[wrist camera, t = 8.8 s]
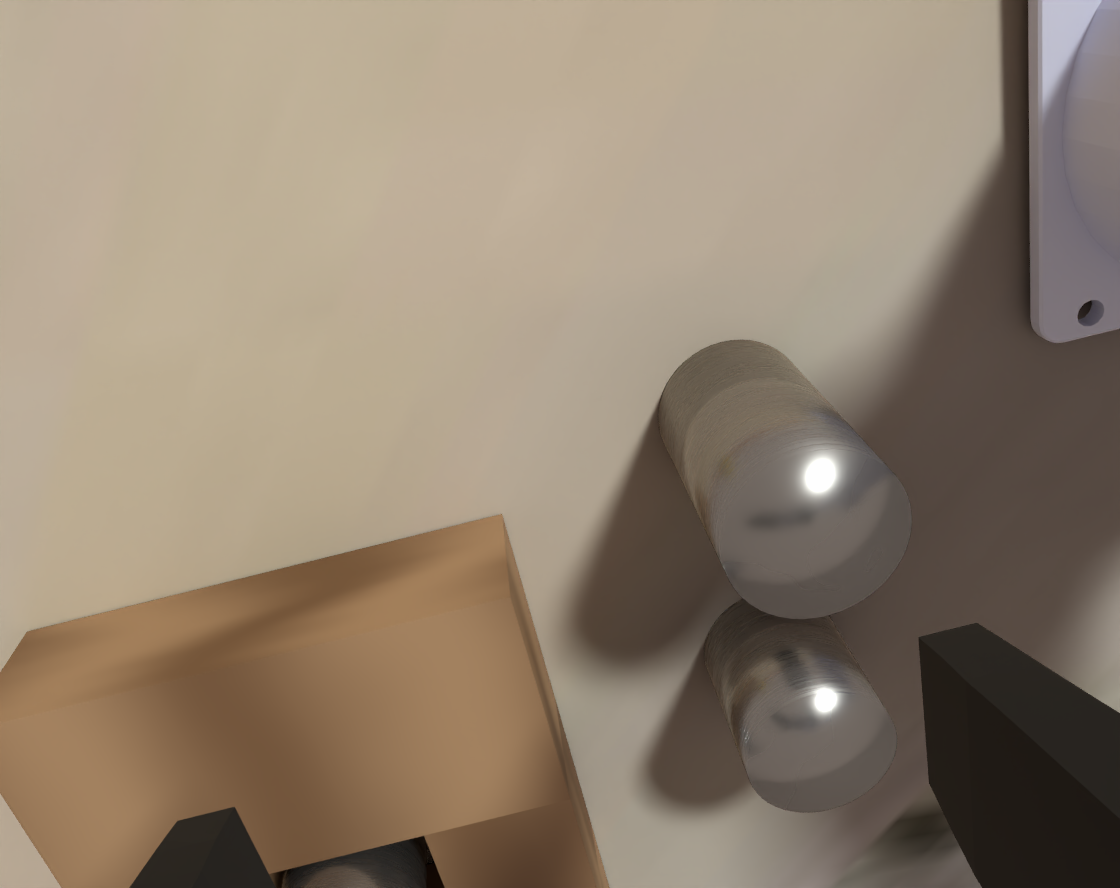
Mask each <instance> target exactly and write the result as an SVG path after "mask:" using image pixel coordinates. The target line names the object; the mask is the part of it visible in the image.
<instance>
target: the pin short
mask: <svg viewBox="0 0 1120 888" xmlns="http://www.w3.org/2000/svg"><path fill="white" fill-rule="evenodd" d="M704 659H705V664H706V668H707V670H708V673H709V676H710V678H711V681H712V683H713V686H714V689H715V691H716V694H717V697H718V699H719V702H720V704H721V707H722V710H723V712H724V715H725V717H726V720H727V723H728V725H729V728H730V731H731V733H732V736H733V738H734V741H735V744H736V746H737V749H738V752H739V754H740V757H741V759H742V762H743V765H744V767H745V770H746V772H747V775H748V778H749V780H750V782H751V785H752V787H753V788H754V790H755V791H756V792H757V793H758V794H759V795H760V796H761V797H762V798H763V799H764V800H765V801H767V802H768V803H770V804H772V805H774V806H776V807H778V808H781V809H784V810H788V811H794V812H819V811H825V810H830V809H833V808H836V807H840V806H842V805H845V804H847V803H849V802H851V801H853V800H855V799H857V798H859V797H860V796H862V795H863V794H865V793H866V792H867V791H869V790H870V789H871V788H873V787H874V786H875V785H876V784H877V783H878V782H879V781H880V779H881V778H882V777H883V776H884V775H885V773H886V772H887V770H888V769H889V767H890V765H891V763H892V761H893V759H894V756H895V753H896V747H897V733H896V728H895V726H894V723H893V721H892V719H891V717H890V716H889V714H888V713H887V711H886V709H885V708H884V706H883V704H882V703H881V701H880V699H879V698H878V696H877V694H876V693H875V691H874V689H873V688H872V686H871V685H870V683H869V681H868V680H867V678H866V676H865V675H864V673H863V671H862V670H861V668H860V666H859V665H858V663H857V662H856V660H855V658H854V657H853V655H852V653H851V652H850V650H849V648H848V647H847V645H846V643H845V642H844V640H843V638H842V637H841V635H840V634H839V632H838V630H837V629H836V627H835V625H834V624H833V622H832V620H831V619H830V617H829V615H828V616H823V617H818V618H810V619H790V618H783V617H778V616H775V615H771V614H768V613H766V612H763V611H761V610H759V609H757V608H755V607H754V606H752V605H751V604H749V603H748V602H747V601H746V600H744V599H742V600H740V601H738V602H736V603H735V604H733V605H732V606H731V607H729V608H728V609H727V610H726V611H725V612H723V613H722V614H721V615H720V617H719V618H718V619H717V620H716V621H715V623H714V624H713V626H712V627H711V629H710V631H709V633H708V636H707V639H706V642H705V647H704Z"/></svg>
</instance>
